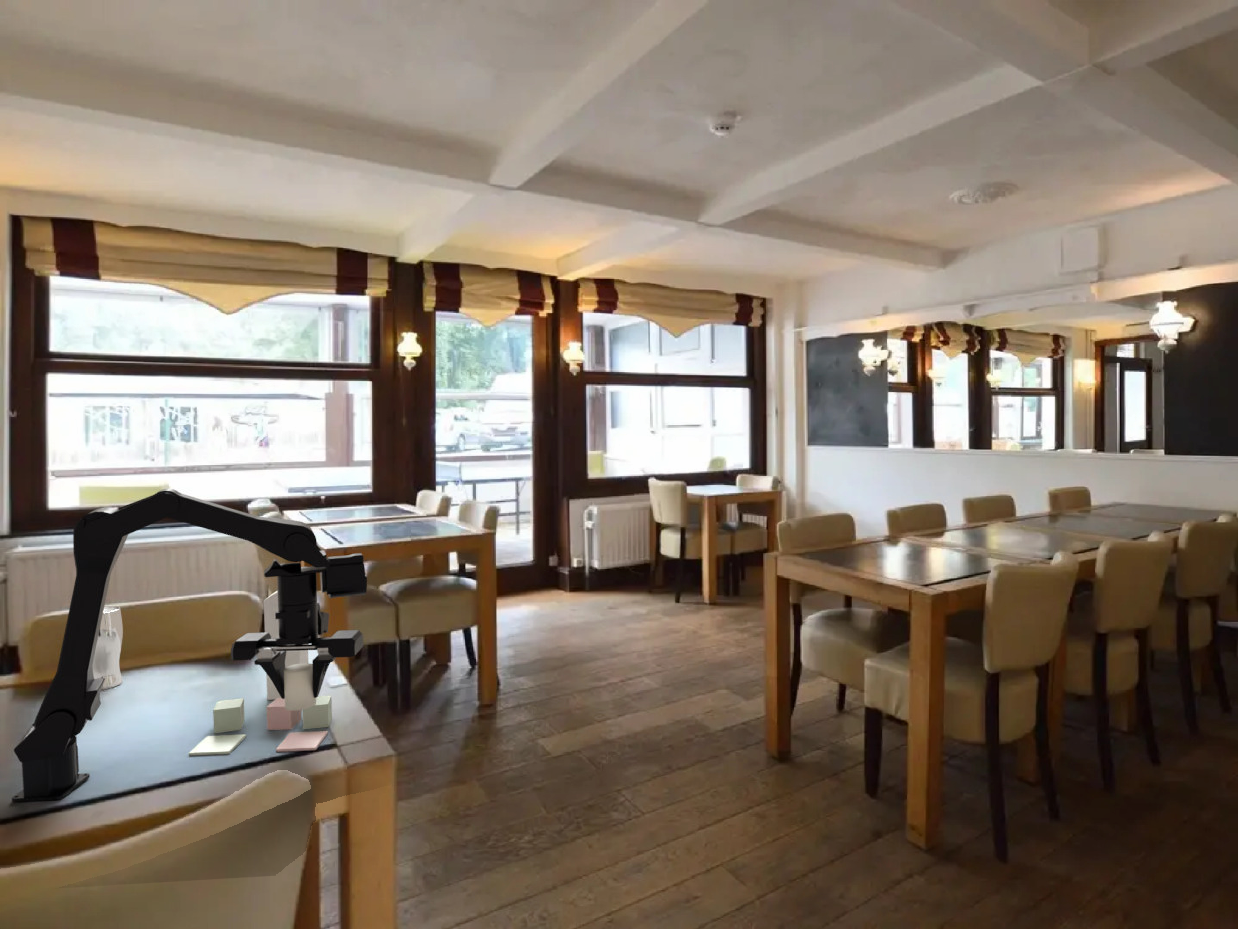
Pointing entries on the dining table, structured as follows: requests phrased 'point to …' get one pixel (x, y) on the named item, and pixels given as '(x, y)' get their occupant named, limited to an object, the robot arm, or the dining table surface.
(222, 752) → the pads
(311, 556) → the robot arm
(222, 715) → the sage cube
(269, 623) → the milk
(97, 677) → the beer glass
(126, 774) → the dining table surface
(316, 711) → the sage cube
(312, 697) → the cream rounded cylinder
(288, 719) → the cube rose
